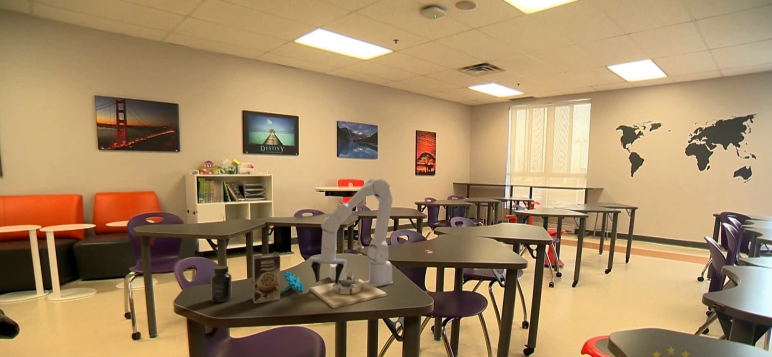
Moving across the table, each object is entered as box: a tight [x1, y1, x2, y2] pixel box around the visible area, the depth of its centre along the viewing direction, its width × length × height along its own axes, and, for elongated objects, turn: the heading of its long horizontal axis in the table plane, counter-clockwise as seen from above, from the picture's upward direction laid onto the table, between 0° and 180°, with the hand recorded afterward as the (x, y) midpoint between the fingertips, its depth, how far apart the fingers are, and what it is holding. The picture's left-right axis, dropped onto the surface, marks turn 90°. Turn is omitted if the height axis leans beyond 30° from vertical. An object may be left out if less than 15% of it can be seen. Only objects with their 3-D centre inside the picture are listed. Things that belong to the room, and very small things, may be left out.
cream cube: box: [328, 264, 347, 282], centre depth 152 cm, size 6×6×6 cm
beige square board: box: [309, 277, 388, 309], centre depth 133 cm, size 22×22×4 cm
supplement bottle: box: [210, 265, 233, 304], centre depth 125 cm, size 7×7×12 cm
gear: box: [283, 271, 305, 293], centre depth 135 cm, size 11×6×10 cm
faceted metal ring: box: [332, 271, 362, 294], centre depth 136 cm, size 16×11×4 cm
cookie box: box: [252, 252, 281, 304], centre depth 126 cm, size 9×6×16 cm
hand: (327, 282), depth 135 cm, fingers open, 7 cm apart
